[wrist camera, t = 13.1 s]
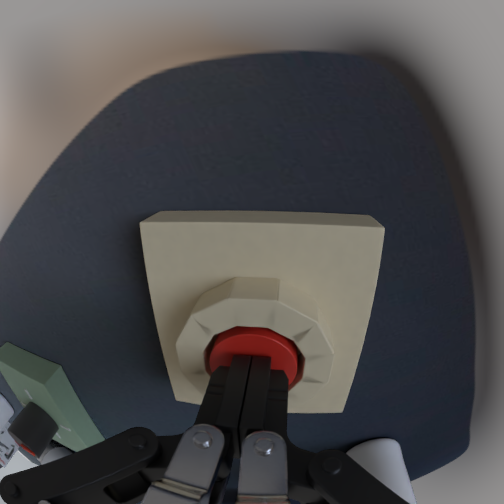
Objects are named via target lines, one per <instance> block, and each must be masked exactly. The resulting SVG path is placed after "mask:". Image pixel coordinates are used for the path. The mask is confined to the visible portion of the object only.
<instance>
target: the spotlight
mask: <svg viewBox="0 0 504 504" xmlns="http://www.w3.org/2000/svg"><path fill="white" fill-rule="evenodd" d="M70 454H73V453H72V452H71V451H70V450H69V449H67V448H64V447H56V448H55V447H54V446H53V445H52V444H50V443H49V444H48V446H47V447H46V449H45V450H44V452H43V453H42V455H41V457H40V458H39V459H38V458H37V459H38V460H39V461H40V462H41V465H43V464H46V463H49V462H51V461H54V460H57V459H60V458H62V457H65V456H68V455H70Z"/></svg>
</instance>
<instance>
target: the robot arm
mask: <svg viewBox="0 0 504 504" xmlns="http://www.w3.org/2000/svg"><path fill="white" fill-rule="evenodd" d="M288 386H289V379H288V377H287V375H286V373H285V372H284V370H274V369H271V357H267V356H253V358H252V356H250V355H237V354H234V355H233V358H232V361H231V365H230V366H221V365H220V366H219V367H218V368H217V369H216V370H215V371H214V372H213V373H212V374H211V377H210V380H209V383H208V386H207V389H206V393H205V395H204V398H203V401H202V404H201V406H200V409H199V412H198V415H197V418H196V421H195V423H194V425H193V426H192V427H190V428H188V429H187V430H186V431H185V432H184V433H182V434H179V435H174V436H156V435H155V433H154V432H152V431H151V430H149V429H147V428H144V427H134V428H130V429H128V430H126V431H124V432H122V433H119V434H117V435H115V436H113V437H111V438H109V439H106V440H104V441H102V442H99V443H97V444H95V445H92V446H90V447H88V448H85V449H83V450H80V451H78V452H75V453H73V454H70V455H68V456H65V457H62V458H60V459H57V460H54V461H51V462H49V463H46V464H43V465H40V466H37V467H34V468H30V469H27V470H24V471H21V472H17V473H14V474H10V475H7V476H5V477H4V478H3V479H2V480H1V482H0V495H1V497H2V499H3V500H4V502H6V503H7V504H136V503H138V502H140V501H142V502H141V504H221V502H222V499H223V496H224V493H225V490H226V487H227V484H228V480H229V477H230V471H231V467H232V462H233V458H238V459H240V457H241V460H240V472H239V483H238V494H237V499H236V502H235V504H290V501H289V498H291V499H294V500H298V501H300V503H301V504H410V503H408V502H407V501H405V500H404V499H403V498H401V497H400V496H399V495H397V494H396V493H394V492H393V491H392V490H391V489H389V488H388V487H387V486H385V485H384V484H383V483H381V482H380V481H379V480H378V479H376V478H375V477H374V476H373V475H371V474H370V473H369V472H368V471H366V470H365V469H364V468H363V467H362V466H360V465H359V464H358V463H357V462H356V461H354V460H353V459H352V458H351V457H350V456H348V455H347V454H346V453H344V452H342V451H340V450H335V449H329V450H323V451H321V452H319V453H313V452H309V451H306V450H302V449H300V448H298V447H296V446H295V445H293V444H292V443H291V441H290V440H289V438H288V436H287V412H288Z"/></svg>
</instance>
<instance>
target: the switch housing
mask: <svg viewBox="0 0 504 504" xmlns="http://www.w3.org/2000/svg"><path fill="white" fill-rule="evenodd" d="M384 231H385V228H384V227H383V226H382V225H381V224H379V223H378V222H377V221H376V220H375V219H374V218H372V217H371V216H370V215H356V214H337V213H313V212H282V211H160V212H158V213H156V214H154V215H152V216H151V217H149V218H147V219H145V220H143V221H141V222H140V232H141V240H142V247H143V254H144V261H145V267H146V273H147V279H148V285H149V291H150V296H151V301H152V306H153V311H154V316H155V321H156V326H157V330H158V334H159V339H160V343H161V347H162V351H163V355H164V359H165V363H166V367H167V371H168V374H169V378H170V381H171V385H172V388H173V392H174V395H175V399H176V400H177V401H182V402H188V403H194V404H200V405H201V404H202V401H203V398H204V395H205V393H206V389H207V386H208V383H209V380H210V377H211V374H212V371H211V368H210V361H209V360H210V355H211V352H212V349H213V346H214V344H215V341H216V338H217V336H218V333H220V332H223V331H225V330H228V329H230V328H233V327H235V326H247V327H264V328H269V329H271V330H273V331H275V332H277V333H279V334H281V335H283V336H285V337H287V338H289V339H291V340H293V341H294V343H295V344H296V346H297V373H296V376H295V378H294V380H293V381H292V383H291V384H290V385H289V386H288V412H287V413H339V412H342V411H343V409H344V406H345V403H346V400H347V397H348V394H349V391H350V388H351V384H352V381H353V378H354V375H355V371H356V368H357V364H358V361H359V357H360V354H361V350H362V346H363V342H364V338H365V334H366V330H367V326H368V322H369V318H370V313H371V308H372V304H373V299H374V294H375V289H376V283H377V278H378V272H379V266H380V260H381V253H382V246H383V239H384Z"/></svg>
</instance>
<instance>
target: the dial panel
mask: <svg viewBox="0 0 504 504" xmlns="http://www.w3.org/2000/svg"><path fill="white" fill-rule="evenodd" d="M0 371H1V373H2V374H3V376H4V378H5V379H6V381H7V383H8V384H9V386H10V387H11V389H12V391H13V392H14V394H15V395H16V397H17V398H18V400H19V401H20V402H21V404H22V405H23V407H25V406H26V405H27V404H28V402H33V403H35V404H36V405H38V406H39V407H41V408H42V409H43V410H44V411H45V412H46V413H47V414H48V415H49V416H50V417H51V418H52V419H53V420H54V421H55V422H56V424H57V425H58V427H59V430H58V431H57V432H56V434H55V435H54V437H53V438H52V439H53V440H55V441H57V442H59V443H61V444H62V445H64V446H66V447H68V448H70V449H72V450H74V451H76V452H78V451H80V450H83V449H85V448H88V447H90V446H92V445H95V444H97V443H99V442H102V441H104V440H105V439H104V437H103V436H102V435H101V433H100V432H99V430H98V429H97V427H96V426H95V424H94V423H93V421H92V420H91V418H90V416H89V415H88V413H87V412H86V410H85V408H84V407H83V405H82V403H81V402H80V400H79V398H78V397H77V395H76V393H75V391H74V389H73V388H72V386H71V384H70V382H69V380H68V378H67V376H66V374H65V373H64V371H63V369H62V367H61V365H58V364H56V363H53V362H51V361H48V360H46V359H44V358H41V357H39V356H37V355H34V354H32V353H30V352H28V351H25V350H23V349H21V348H19V347H17V346H15V345H13V344H11V343H9V342H6V343H5V344H4V345H3V346H2V347H1V348H0Z"/></svg>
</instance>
